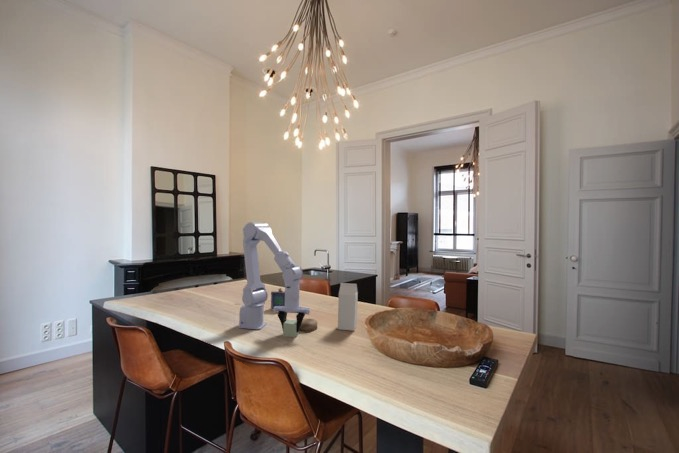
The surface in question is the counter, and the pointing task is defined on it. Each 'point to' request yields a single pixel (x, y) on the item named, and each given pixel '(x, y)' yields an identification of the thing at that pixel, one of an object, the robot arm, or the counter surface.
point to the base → (308, 325)
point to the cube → (290, 328)
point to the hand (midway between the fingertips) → (291, 330)
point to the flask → (277, 298)
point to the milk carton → (347, 306)
